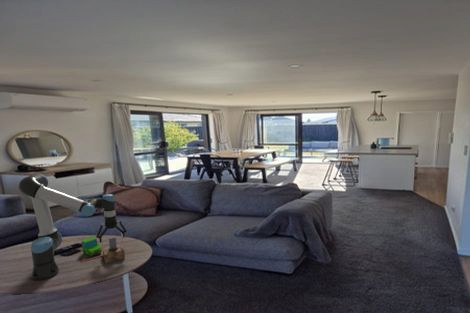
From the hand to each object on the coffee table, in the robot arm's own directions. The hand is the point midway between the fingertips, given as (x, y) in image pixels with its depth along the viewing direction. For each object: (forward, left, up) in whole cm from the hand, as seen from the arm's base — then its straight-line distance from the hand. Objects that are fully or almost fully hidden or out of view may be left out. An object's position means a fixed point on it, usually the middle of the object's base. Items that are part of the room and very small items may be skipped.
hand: (112, 244), depth 212 cm
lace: (-13, +7, -10) cm, 18 cm away
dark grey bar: (0, 0, -10) cm, 10 cm away
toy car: (-13, +16, -10) cm, 23 cm away
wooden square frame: (0, 0, -10) cm, 10 cm away
